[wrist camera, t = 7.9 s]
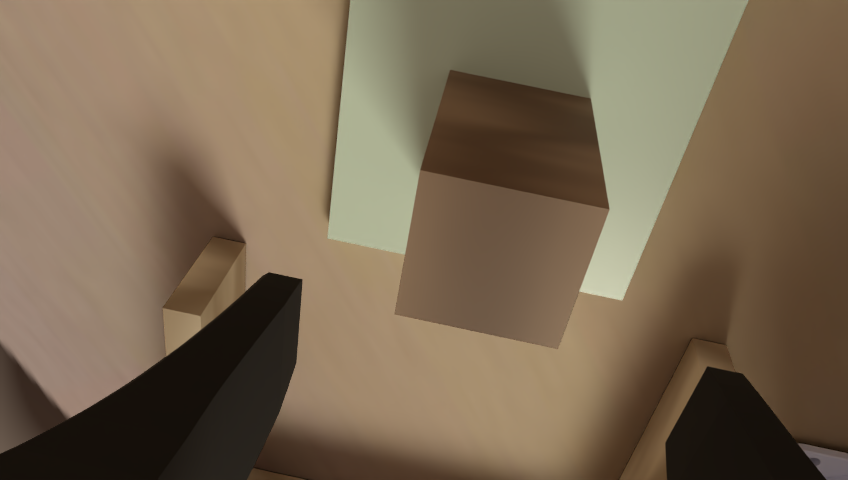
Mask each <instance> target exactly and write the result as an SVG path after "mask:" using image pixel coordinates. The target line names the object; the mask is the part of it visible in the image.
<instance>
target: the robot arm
mask: <svg viewBox="0 0 848 480" xmlns="http://www.w3.org/2000/svg"><path fill="white" fill-rule="evenodd" d="M301 292H302V279H298V278H293V277H288V276H284V275H279V274H274V273H270V272H269V273H267V274H265V275H264V276H262V277H261V278H260V279H259V280H258V281H257V282H256V283H254V284H253V285H252V286H251V287H250V288H249V289H248V290H247V291H246V292H245V293H243V294H242V295H241V296H240V297H239V298H238V299H237V300H236V301H235V302H233V303H232V304H231V305H230V306H229V307H228V308H226V309H225V310H224V311H223V312H222V313H221V314H219V315H218V316H217V317H216V318H215V319H213V320H212V321H211V322H210V323H209V324H207V325H206V326H205V327H204V328H202V329H201V330H200V331H199V332H197V333H196V334H195V335H194V336H192V337H191V338H190V339H189V340H187V341H186V342H185V343H184V344H182V345H181V346H180V347H178V348H177V349H176V350H174V351H173V352H172V353H170V354H169V355H167V356H166V357H165V358H163V359H162V360H160V361H159V362H158V363H156V364H155V365H154V366H152V367H151V368H149V369H148V370H147V371H145V372H144V373H142V374H141V375H139V376H138V377H137V378H135V379H134V380H132V381H131V382H129V383H128V384H126V385H124V386H123V387H121V388H120V389H118V390H117V391H115V392H114V393H112V394H110V395H109V396H107V397H105V398H104V399H102V400H101V401H99V402H97V403H96V404H94V405H92V406H91V407H89V408H87V409H86V410H84V411H82V412H80V413H78V414H77V415H75V416H73V417H71V418H69V419H68V420H66V421H64V422H62V423H60V424H59V425H57V426H55V427H53V428H51V429H50V430H48V431H46V432H44V433H42V434H40V435H38V436H36V437H34V438H32V439H30V440H28V441H26V442H25V443H22V444H20V445H18V446H16V447H14V448H12V449H10V450H8V451H5V452H3V453H1V454H0V480H247V479H248V477H249V475H250V473H251V471H252V469H253V467H254V464H255V462H256V460H257V458H258V456H259V454H260V452H261V450H262V448H263V446H264V444H265V442H266V439H267V437H268V435H269V433H270V431H271V429H272V427H273V425H274V423H275V420H276V418H277V416H278V414H279V412H280V409H281V406H282V403H283V400H284V397H285V395H286V392H287V389H288V386H289V383H290V380H291V377H292V374H293V371H294V368H295V365H296V359H297V346H298V333H299V319H300V306H301ZM665 450H666V473H667V480H848V453H844V452H839V451H835V450H830V449H825V448H821V447H816V446H811V445H807V444H802V443H797V442H796V441H795V440H794V438H793V437H792V436H791V434H790V433H789V432H788V431H787V429H786V428H785V427H784V425H783V424H782V423H781V422H780V420H779V419H778V418H777V416H776V415H775V414H774V413H773V411H772V410H771V409H770V407H769V406H768V405H767V404H766V402H765V401H764V400H763V398H762V397H761V396H760V395H759V393H758V392H757V391H756V390H755V388H754V387H753V386H752V385H751V383H750V382H749V381H748V380H747V379H746V377H745V376H744V375H743V374H742V373H737V372H732V371H728V370H723V369H718V368H714V367H709V366H707V368H706V369H705V371H704V373H703V375H702V377H701V379H700V380H699V382H698V384H697V386H696V388H695V389H694V391H693V393H692V395H691V397H690V399H689V400H688V402H687V404H686V406H685V408H684V409H683V411H682V413H681V415H680V417H679V419H678V420H677V422H676V424H675V426H674V428H673V429H672V431H671V433H670V435H669V437H668V439H667V440H666V442H665Z"/></svg>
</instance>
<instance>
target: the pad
mask: <svg viewBox="0 0 848 480" xmlns="http://www.w3.org/2000/svg"><path fill="white" fill-rule="evenodd" d="M747 3H748V0H350V9H349V19H348V30H347V40H346V51H345V61H344V71H343V82H342V92H341V103H340V113H339V123H338V134H337V144H336V155H335V165H334V175H333V186H332V196H331V207H330V217H329V228H328V239H333V240H338V241H343V242H347V243H352V244H357V245H362V246H366V247H371V248H376V249H381V250H385V251H390V252H395V253H400V254H404V255H405V252H406V247H407V241H408V235H409V230H410V224H411V219H412V213H413V207H414V202H415V196H416V190H417V185H418V179H419V174H420V169H421V165H422V162H423V159H424V155H425V152H426V149H427V145H428V142H429V139H430V135H431V132H432V129H433V125H434V122H435V119H436V115H437V112H438V108H439V105H440V102H441V98H442V95H443V92H444V88H445V85H446V82H447V78H448V75H449V72H450V70H454V71H459V72H464V73H468V74H473V75H478V76H483V77H488V78H493V79H498V80H503V81H508V82H512V83H517V84H522V85H527V86H532V87H537V88H542V89H547V90H552V91H556V92H561V93H566V94H571V95H576V96H581V97H586V98H591V102H592V108H593V114H594V120H595V125H596V131H597V137H598V143H599V149H600V155H601V161H602V167H603V173H604V179H605V185H606V191H607V197H608V203H609V209H610V210H609V213H608V215H607V218H606V221H605V223H604V226H603V229H602V232H601V234H600V237H599V240H598V242H597V245H596V248H595V250H594V253H593V256H592V259H591V261H590V264H589V267H588V269H587V272H586V275H585V277H584V280H583V283H582V285H581V288H580V292H584V293H589V294H594V295H599V296H603V297H608V298H613V299H618V300H623V297H624V295H625V293H626V290H627V288H628V286H629V283H630V281H631V278H632V276H633V274H634V271H635V269H636V267H637V264H638V262H639V259H640V257H641V255H642V252H643V250H644V248H645V245H646V243H647V240H648V238H649V236H650V233H651V231H652V229H653V226H654V224H655V221H656V219H657V217H658V214H659V212H660V210H661V207H662V205H663V202H664V200H665V198H666V195H667V193H668V191H669V188H670V186H671V183H672V181H673V179H674V176H675V174H676V172H677V169H678V167H679V164H680V162H681V160H682V157H683V155H684V153H685V150H686V148H687V145H688V143H689V141H690V138H691V136H692V134H693V131H694V129H695V126H696V124H697V122H698V119H699V117H700V115H701V112H702V110H703V107H704V105H705V103H706V100H707V98H708V95H709V93H710V91H711V88H712V86H713V84H714V81H715V79H716V76H717V74H718V72H719V69H720V67H721V65H722V62H723V60H724V57H725V55H726V53H727V50H728V48H729V46H730V43H731V41H732V38H733V36H734V34H735V31H736V29H737V27H738V24H739V22H740V19H741V17H742V15H743V12H744V10H745V8H746V5H747Z"/></svg>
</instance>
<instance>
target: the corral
mask: <svg viewBox="0 0 848 480" xmlns="http://www.w3.org/2000/svg"><path fill="white" fill-rule="evenodd" d="M245 273H246V244H245V243H241V242H236V241H231V240H226V239H222V238H217V237H212V239H211V240H210V242H209V243H208V244H207V246H206V247H205V249H204V250H203V251H202V253H201V254H200V256H199V257H198V258H197V260H196V261H195V263H194V264H193V266H192V267H191V268H190V270H189V271H188V273H187V274H186V275H185V277H184V278H183V280H182V281H181V283H180V284H179V285H178V287H177V288H176V290H175V291H174V292H173V294H172V295H171V297H170V298H169V300H168V301H167V302H166V304H165V305H164V307H163V321H164V334H165V347H166V356H167V355H169V354H170V353H172V352H173V351H174V350H176V349H177V348H178V347H180V346H181V345H182V344H184V343H185V342H186V341H187V340H189V339H190V338H191V337H192V336H194V335H195V334H196V333H197V332H199V331H200V330H201V329H202V328H204V327H205V326H206V325H207V324H209V323H210V322H211V321H212V320H213V319H215V318H216V317H217V316H218V315H219V314H221V313H222V312H223V311H224V310H225V309H226V308H228V307H229V306H230V305H231V304H232V303H233V302H235V301H236V300H237V299H238V298H239V297H240V296H241V295H242V294H243V293H245ZM707 366H709V367H714V368H718V369H723V370H728V371H732V372H735V369H734V366H733V363H732V360H731V357H730V354H729V351H728V348H727V345H723V344H718V343H713V342H708V341H704V340H699V339H694V338H692V340H691V342H690V344H689V346H688V348H687V350H686V352H685V353H684V355H683V357H682V359H681V361H680V363H679V365H678V367H677V369H676V371H675V373H674V375H673V377H672V379H671V381H670V382H669V384H668V386H667V388H666V390H665V392H664V394H663V396H662V398H661V400H660V402H659V404H658V406H657V408H656V409H655V411H654V413H653V415H652V417H651V419H650V421H649V423H648V425H647V427H646V429H645V431H644V433H643V435H642V437H641V438H640V440H639V442H638V444H637V446H636V448H635V450H634V452H633V454H632V456H631V458H630V460H629V462H628V464H627V466H626V467H625V469H624V471H623V473H622V475H621V477H620V479H619V480H667V473H666V450H665V442H666V440H667V439H668V437H669V435H670V433H671V431H672V429H673V428H674V426H675V424H676V422H677V420H678V419H679V417H680V415H681V413H682V411H683V409H684V408H685V406H686V404H687V402H688V400H689V399H690V397H691V395H692V393H693V391H694V389H695V388H696V386H697V384H698V382H699V380H700V379H701V377H702V375H703V373H704V371H705V369H706V368H707ZM247 480H305V479H301V478H296V477H291V476H287V475H282V474H278V473H273V472H269V471H264V470H260V469H255V468H253V469H252V471H251V473H250V475H249V477H248V479H247Z"/></svg>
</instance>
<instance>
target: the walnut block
mask: <svg viewBox="0 0 848 480" xmlns="http://www.w3.org/2000/svg"><path fill="white" fill-rule="evenodd" d="M609 210H610V209H609V203H608V197H607V191H606V185H605V179H604V173H603V167H602V161H601V155H600V149H599V143H598V137H597V131H596V125H595V120H594V114H593V108H592V102H591V98H586V97H581V96H576V95H571V94H566V93H561V92H556V91H552V90H547V89H542V88H537V87H532V86H527V85H522V84H517V83H512V82H508V81H503V80H498V79H493V78H488V77H483V76H478V75H473V74H468V73H464V72H459V71H454V70H450V72H449V75H448V78H447V82H446V85H445V88H444V92H443V95H442V98H441V102H440V105H439V108H438V112H437V115H436V119H435V122H434V125H433V129H432V132H431V135H430V139H429V142H428V145H427V149H426V152H425V155H424V159H423V162H422V165H421V169H420V174H419V179H418V185H417V190H416V196H415V202H414V207H413V213H412V219H411V224H410V230H409V235H408V241H407V247H406V252H405V258H404V264H403V269H402V275H401V280H400V286H399V292H398V297H397V303H396V309H395V314H396V315H401V316H405V317H410V318H415V319H419V320H424V321H429V322H433V323H438V324H443V325H448V326H452V327H457V328H462V329H466V330H471V331H476V332H480V333H485V334H490V335H495V336H499V337H504V338H509V339H513V340H518V341H523V342H527V343H532V344H537V345H541V346H546V347H551V348H556V349H558V347H559V345H560V342H561V339H562V337H563V334H564V331H565V329H566V326H567V323H568V321H569V318H570V315H571V312H572V310H573V307H574V304H575V302H576V299H577V296H578V294H579V291H580V288H581V285H582V283H583V280H584V277H585V275H586V272H587V269H588V267H589V264H590V261H591V259H592V256H593V253H594V250H595V248H596V245H597V242H598V240H599V237H600V234H601V232H602V229H603V226H604V223H605V221H606V218H607V215H608V213H609Z"/></svg>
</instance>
